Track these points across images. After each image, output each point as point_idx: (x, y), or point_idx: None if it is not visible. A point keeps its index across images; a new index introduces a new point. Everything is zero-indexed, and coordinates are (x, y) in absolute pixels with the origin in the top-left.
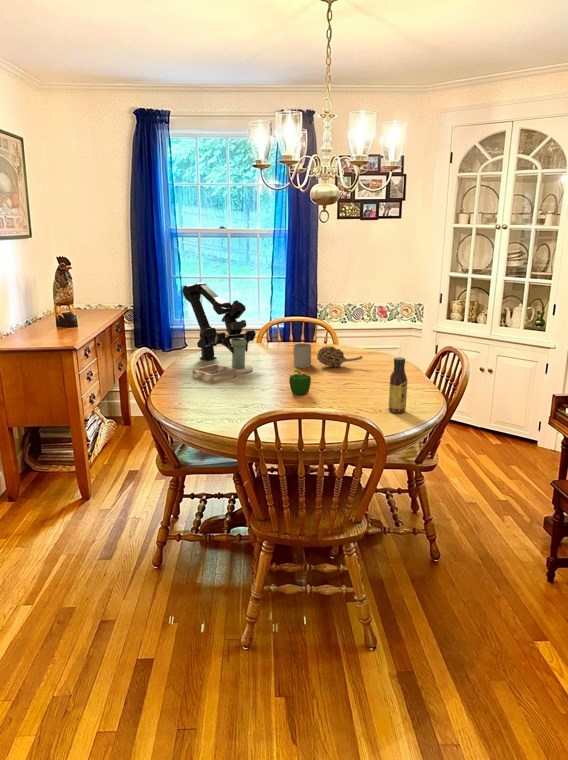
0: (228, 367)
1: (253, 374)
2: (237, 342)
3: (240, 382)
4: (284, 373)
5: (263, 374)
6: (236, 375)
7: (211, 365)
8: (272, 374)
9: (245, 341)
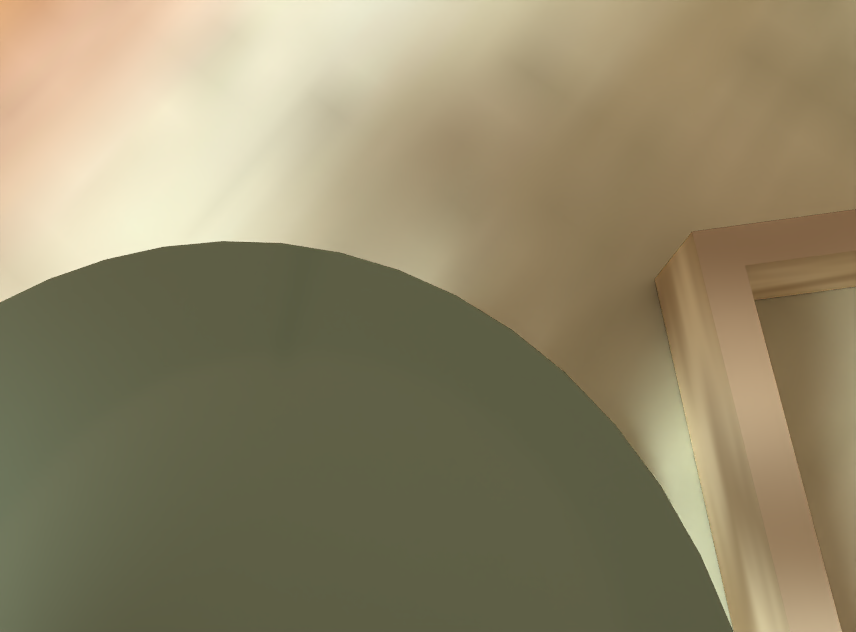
0: (774, 420)
1: (385, 217)
2: (557, 375)
3: (758, 11)
4: (49, 13)
5: (278, 133)
6: (662, 272)
7: None
8: (190, 64)
9: (32, 298)
